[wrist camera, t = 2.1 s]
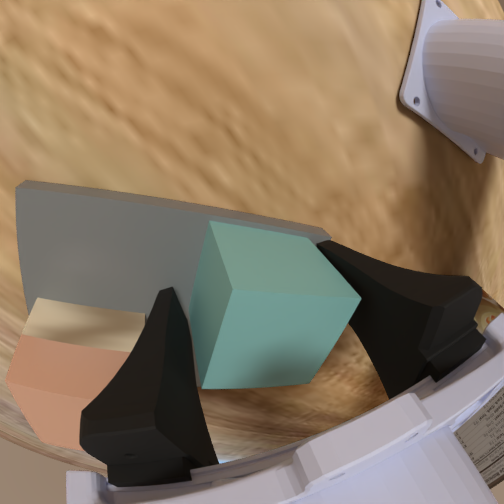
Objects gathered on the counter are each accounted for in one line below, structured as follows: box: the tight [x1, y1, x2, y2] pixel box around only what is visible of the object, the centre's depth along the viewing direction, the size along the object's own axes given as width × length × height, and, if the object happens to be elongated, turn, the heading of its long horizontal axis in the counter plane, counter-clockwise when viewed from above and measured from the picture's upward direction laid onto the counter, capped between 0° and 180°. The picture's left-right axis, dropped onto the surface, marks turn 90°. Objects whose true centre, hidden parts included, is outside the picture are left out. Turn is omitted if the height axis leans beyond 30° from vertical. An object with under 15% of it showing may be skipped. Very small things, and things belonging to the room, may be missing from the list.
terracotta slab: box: [5, 334, 131, 451], centre depth 10 cm, size 6×6×2 cm
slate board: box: [16, 180, 332, 387], centre depth 13 cm, size 14×11×1 cm
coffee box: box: [453, 289, 504, 489], centre depth 14 cm, size 9×6×16 cm
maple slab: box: [22, 297, 145, 352], centre depth 12 cm, size 6×6×2 cm
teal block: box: [188, 221, 362, 389], centre depth 11 cm, size 4×4×4 cm
